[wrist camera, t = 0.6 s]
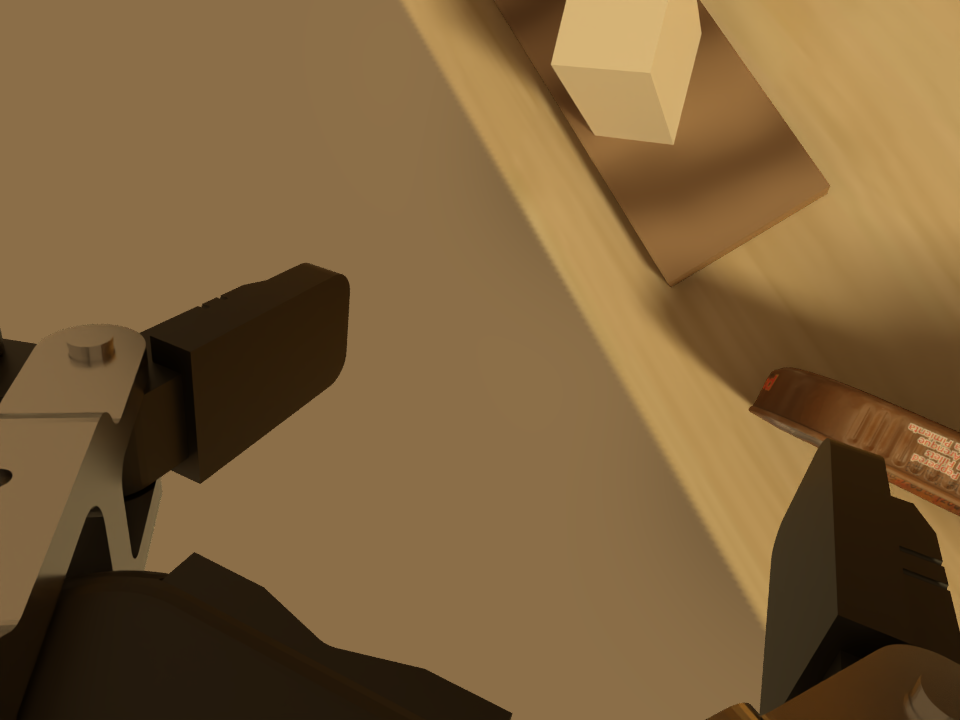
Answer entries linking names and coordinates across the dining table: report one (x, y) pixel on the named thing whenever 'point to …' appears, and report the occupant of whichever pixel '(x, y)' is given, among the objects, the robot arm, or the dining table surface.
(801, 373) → the tin
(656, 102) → the carton
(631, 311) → the dining table surface
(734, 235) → the shelf board
